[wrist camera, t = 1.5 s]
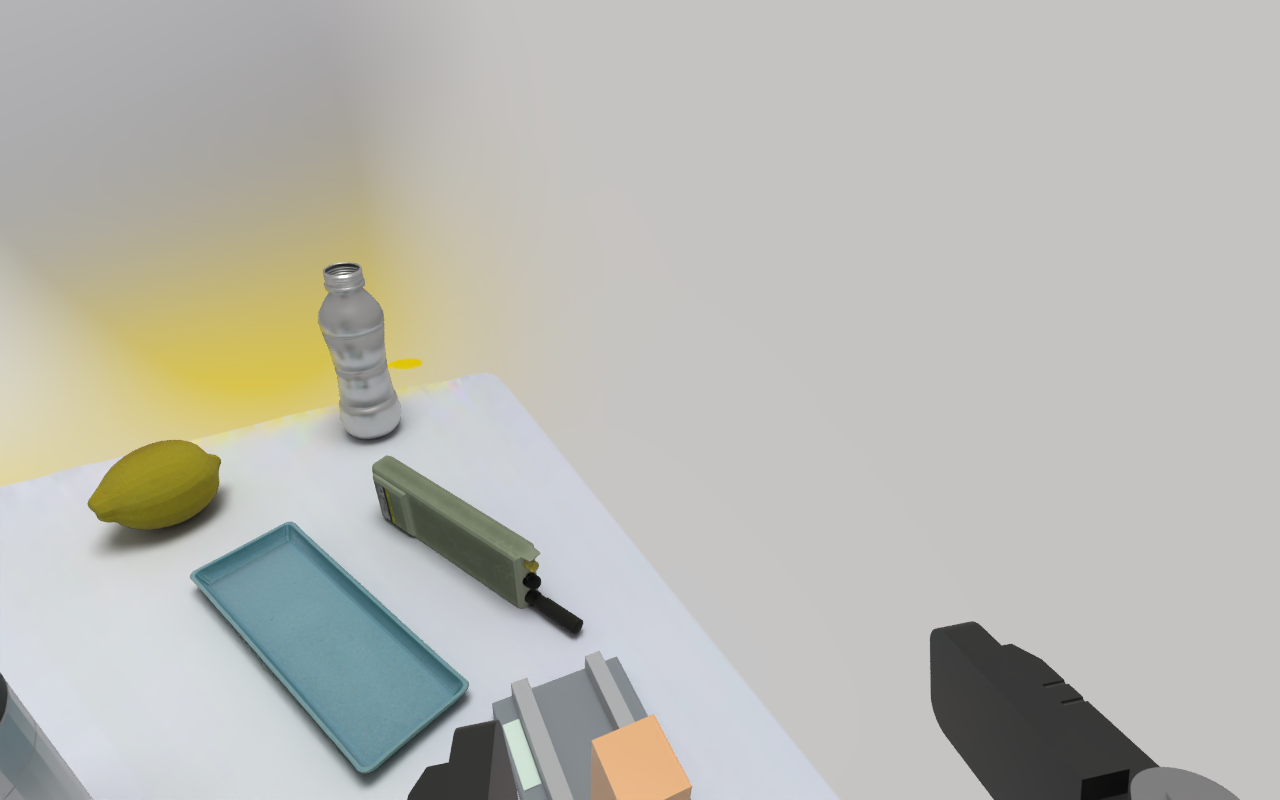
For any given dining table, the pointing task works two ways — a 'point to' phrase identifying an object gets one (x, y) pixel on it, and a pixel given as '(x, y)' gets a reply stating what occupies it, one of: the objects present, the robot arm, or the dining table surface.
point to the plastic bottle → (358, 353)
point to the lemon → (157, 486)
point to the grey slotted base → (564, 727)
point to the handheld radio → (465, 537)
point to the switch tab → (637, 765)
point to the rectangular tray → (331, 644)
